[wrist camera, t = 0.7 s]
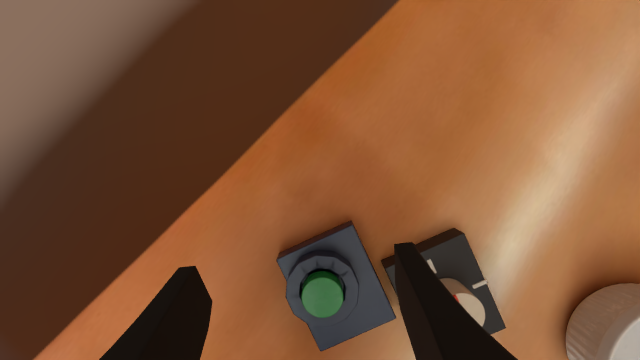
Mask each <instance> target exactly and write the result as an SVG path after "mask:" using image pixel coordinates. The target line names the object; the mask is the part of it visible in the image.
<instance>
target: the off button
mask: <svg viewBox="0 0 640 360" xmlns="http://www.w3.org/2000/svg"><path fill="white" fill-rule="evenodd" d="M342 303H343V290H342V285H341V282H340V280H339V279H338V278H337V277H336V276H335V275H334V274H332V273H330V272H327V271H318V272H315V273H313V274H311V275H310V276H309V277H308V278H307V279H306V280H305V282H304V285H303V290H302V304H303V306H304V308H305V309H306V311H307V312H308V313H310V314H311V315H313V316H315V317H319V318H326V317H330V316H332V315H334V314H335V313H337V312H338V311H339V309H340V308H341V306H342Z"/></svg>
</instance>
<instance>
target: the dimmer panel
mask: <svg viewBox="0 0 640 360" xmlns="http://www.w3.org/2000/svg"><path fill="white" fill-rule="evenodd" d="M416 247H417V249H418V250H419V252H420V253H421V255H422V256H423V258H424V259H425V261H426V262H427V264H428V265H429V266H430V268H431V269H432V270H433V272H434V273H435V274H436V276H437V277H438V278H439V279H443V278H451V279H455V280H457V281H459V282H460V283H461V284H462V285H463V286H465V287H466V288H467V289H468V290H469V291H470V292H471V293H472V294H473V295H474V296H475V297H476V298H477V299H478V300H479V301H480V302H481V303H482V305H483V307H484V310H485V321H484V324H483V326H482V327H483V328H484V329H485V330H486V331H487V332H488V333H489V334H490V335H491V334H493V333H496V332H498V331H500V330H502V329H505V328H506V327H505V324H504V322H503V320H502V318H501V315H500V313H499V311H498V309H497V306H496V304H495V302H494V300H493V297H492V295H491V293H490V291H489V288H488V286H487V283H488V282H487V280H486V279H484V277H483V275H482V273H481V270H480V268H479V266H478V264H477V261H476V259H475V257H474V255H473V252H472V250H471V248H470V246H469V243H468V241H467V239H466V237H465V234H464V233H463V232H461V231H459V230H457V229H455V228H452V229H450V230H448V231H446V232H444V233H441V234H439V235H437V236H435V237H432V238H430V239H428V240H426V241H424V242H421V243H419V244H417V245H416ZM381 262H382V264H383V266H384V268H385V271H386V273H387V275H388V277H389V279H390V281H391V284H392V286H393V288H394V290H395V292H396V294H397V290H396V285H395V256H394V255H393V256H390V257H388V258H386V259H384V260H381ZM397 297H398V295H397Z"/></svg>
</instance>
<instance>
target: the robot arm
mask: <svg viewBox="0 0 640 360" xmlns="http://www.w3.org/2000/svg"><path fill="white" fill-rule="evenodd" d="M394 256H395V285H396V290H397V295H398V300H399V305H400V310H401V313H402V316H403V320H404V323H405V326H406V329H407V332H408V335H409V338H410V342H411V345H412V348H413V351H414V354H415V357H416V360H518V359H517V358H515V357H514V356H513V355H512V354H511V353H509V352H508V351H507V350H506V349H505V348H504V347H503V346H502V345H501V344H500V343H498V342H497V341H496V340H495V339H494V338H493V337H492V336H491V335H490V334H489V333H488V332H487V331H486V330H485V329H484V328H483V327H482V326H481V325H480V324H479V323H478V322H477V321H476V320H475V319H474V318H473V317H472V316H471V315H470V314H469V313H468V312H467V311H466V310H465V309H464V308H463V306H462V305H461V304H460V303H459V302H458V301H457V300H456V299H455V297H454V296H453V295H452V294H451V293H450V292H449V290H448V289H447V288H446V287H445V285H444V284H443V283H442V282H441V281H440V279H439V278H438V277H437V276H436V274H435V273H434V272H433V270H432V269H431V268H430V266H429V265H428V264H427V262H426V261H425V259H424V258H423V256H422V255H421V253H420V252H419V250H418V249H417V247H416V245H415V244H414V243H412V242H409V243H400V244H394ZM211 308H212V300H211V297H210V295H209V293H208V291H207V289H206V287H205V285H204V283H203V281H202V279H201V277H200V275H199V272H198V270H197V268H196V266H189V267H180V268H178V270H177V271H176V272H175V273H174V274H173V276H172V277H171V278H170V279H169V280H168V282H167V283H166V284H165V285H164V287H163V288H162V289H161V290H160V291H159V293H158V294H157V295H156V296H155V298H154V299H153V300H152V301H151V302H150V304H149V305H148V306H147V307H146V308H145V310H144V311H143V312H142V313H141V314H140V316H139V317H138V318H137V319H136V320H135V321H134V323H133V324H132V325H131V326H130V327H129V328H128V329H127V330H126V331H125V333H124V334H123V335H122V336H121V337H120V338H119V339H118V340H117V341H116V343H115V344H114V345H113V346H112V347H111V348H110V349H109V350H108V351H107V352H106V353H105V354H104V355H103V356H102V357H101V358H100V359H99V360H200V357H201V354H202V350H203V346H204V343H205V339H206V336H207V332H208V327H209V322H210V315H211Z"/></svg>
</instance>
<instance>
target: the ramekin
mask: <svg viewBox="0 0 640 360" xmlns="http://www.w3.org/2000/svg"><path fill="white" fill-rule="evenodd" d="M566 349H567V356H568V358H569V360H640V284H634V283H626V284H624V283H621V284H617V285H611V286H608V287H604V288H602V289H600V290H597V291H596V292H594V293H593V294H591V295H589V296H588V297H586V298H585V299H584V300H583V301H582V302H581V303H580V304H579V305H578V306H577V307H576V309H575V310H574V312H573V314H572V315H571V317H570V320H569V323H568V326H567V331H566Z"/></svg>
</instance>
